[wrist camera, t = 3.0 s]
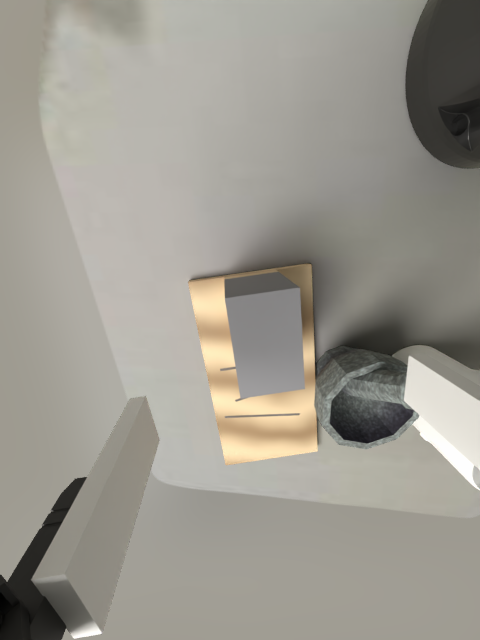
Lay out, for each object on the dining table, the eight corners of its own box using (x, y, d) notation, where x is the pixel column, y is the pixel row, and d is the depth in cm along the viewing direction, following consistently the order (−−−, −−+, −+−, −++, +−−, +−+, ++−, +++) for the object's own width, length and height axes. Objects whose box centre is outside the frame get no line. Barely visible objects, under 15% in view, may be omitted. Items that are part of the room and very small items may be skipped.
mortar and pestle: (373, 400, 31) (458, 496, 20) (299, 406, 31) (344, 508, 19) (386, 316, 27) (501, 376, 16) (302, 322, 27) (360, 388, 16)
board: (189, 280, 25) (188, 282, 24) (308, 263, 25) (311, 264, 24) (225, 458, 33) (225, 465, 32) (314, 444, 33) (317, 451, 32)
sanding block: (224, 277, 24) (224, 298, 16) (275, 269, 24) (299, 287, 16) (235, 351, 26) (240, 398, 19) (281, 344, 27) (304, 388, 19)
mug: (470, 388, 31) (608, 476, 20) (378, 408, 32) (464, 506, 20) (478, 330, 29) (644, 394, 17) (377, 352, 29) (476, 430, 18)
